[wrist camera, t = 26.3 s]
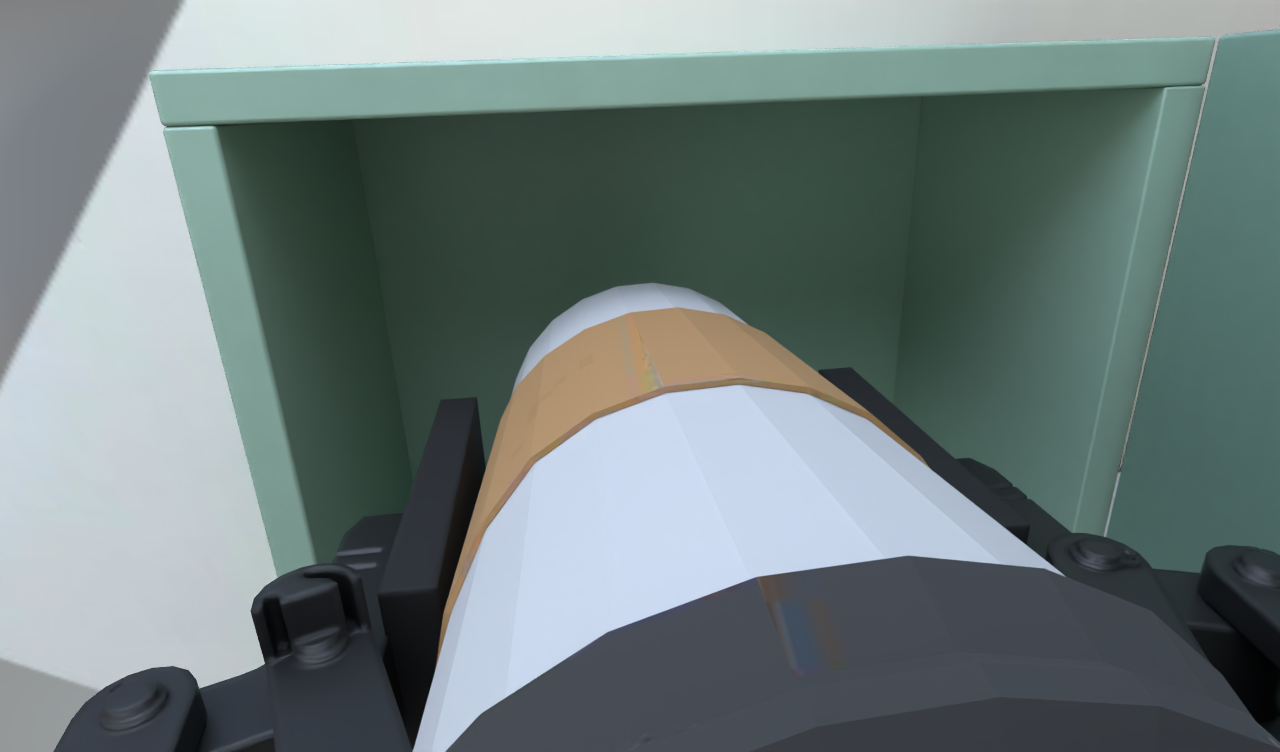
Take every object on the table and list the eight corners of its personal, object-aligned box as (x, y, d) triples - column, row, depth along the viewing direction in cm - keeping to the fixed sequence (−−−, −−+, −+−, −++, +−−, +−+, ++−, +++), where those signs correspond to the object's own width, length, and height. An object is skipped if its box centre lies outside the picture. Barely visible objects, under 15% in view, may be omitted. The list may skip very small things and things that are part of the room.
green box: (401, 526, 28) (324, 767, 18) (323, 82, 22) (144, 70, 12) (895, 477, 30) (1074, 670, 20) (938, 60, 24) (1217, 36, 14)
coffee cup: (781, 540, 20) (1294, 1490, 7) (475, 547, 19) (305, 1717, 5) (825, 241, 18) (1921, 801, 4) (467, 228, 16) (50, 980, 2)
